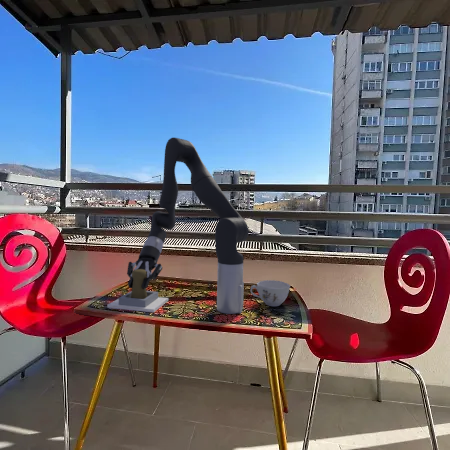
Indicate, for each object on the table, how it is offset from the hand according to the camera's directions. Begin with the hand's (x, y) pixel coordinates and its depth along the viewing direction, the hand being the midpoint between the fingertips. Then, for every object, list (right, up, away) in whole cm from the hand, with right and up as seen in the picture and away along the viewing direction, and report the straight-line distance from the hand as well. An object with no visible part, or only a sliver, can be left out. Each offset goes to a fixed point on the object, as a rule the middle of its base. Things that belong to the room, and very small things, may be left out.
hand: (136, 287), depth 102 cm
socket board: (0, -7, +2) cm, 7 cm away
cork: (0, -5, +2) cm, 5 cm away
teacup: (+50, -8, +6) cm, 51 cm away
